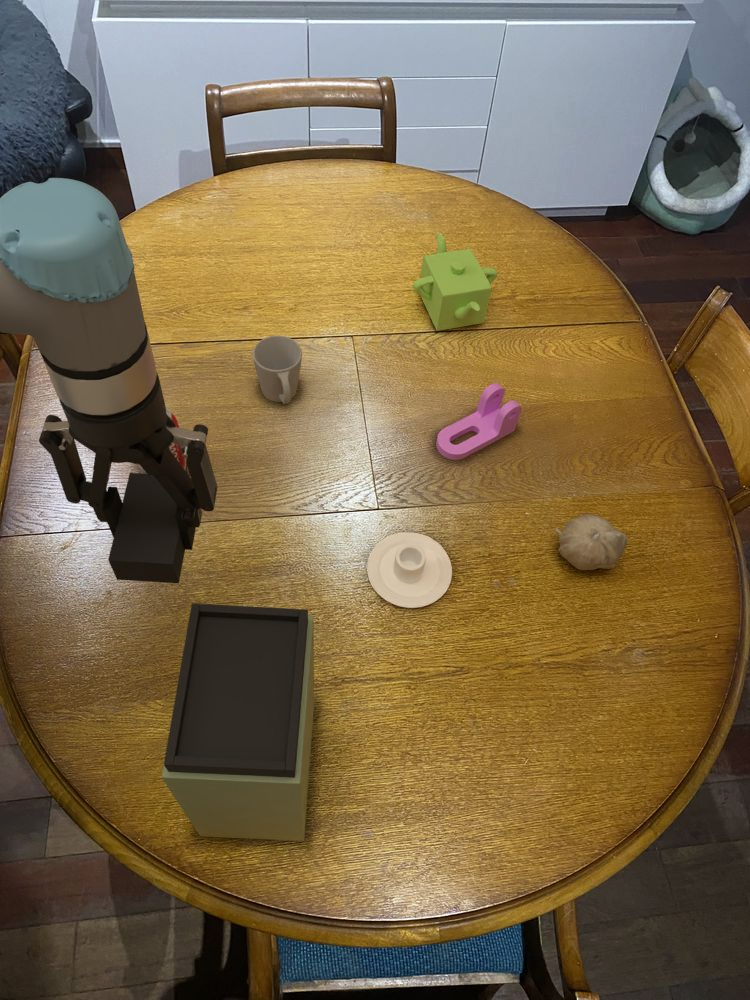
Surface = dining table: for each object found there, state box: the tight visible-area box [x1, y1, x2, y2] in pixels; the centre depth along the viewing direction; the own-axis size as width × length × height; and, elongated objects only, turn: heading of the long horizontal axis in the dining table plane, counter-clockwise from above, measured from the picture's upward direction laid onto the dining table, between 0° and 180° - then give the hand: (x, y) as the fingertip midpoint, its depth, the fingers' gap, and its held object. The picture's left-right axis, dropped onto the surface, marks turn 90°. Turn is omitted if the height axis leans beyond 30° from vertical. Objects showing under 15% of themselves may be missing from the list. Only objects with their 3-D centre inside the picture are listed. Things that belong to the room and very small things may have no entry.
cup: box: [252, 335, 303, 405], centre depth 124 cm, size 8×10×8 cm
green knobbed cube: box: [412, 232, 499, 332], centre depth 136 cm, size 15×13×11 cm
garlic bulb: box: [554, 513, 628, 571], centre depth 110 cm, size 9×8×10 cm
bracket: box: [435, 382, 523, 461], centre depth 122 cm, size 13×6×7 cm, turn 124°
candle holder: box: [366, 531, 453, 609], centre depth 109 cm, size 12×12×4 cm
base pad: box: [163, 602, 309, 778], centre depth 71 cm, size 11×15×2 cm
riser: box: [161, 615, 315, 842], centre depth 84 cm, size 12×16×27 cm
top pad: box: [107, 472, 186, 584], centre depth 77 cm, size 10×6×4 cm, turn 178°
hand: (156, 535), depth 79 cm, fingers closed on top pad, 6 cm apart
